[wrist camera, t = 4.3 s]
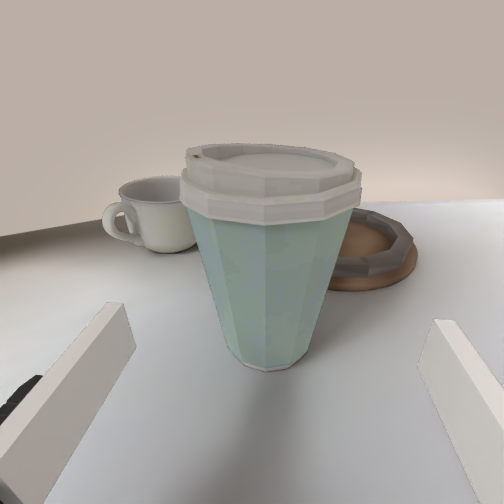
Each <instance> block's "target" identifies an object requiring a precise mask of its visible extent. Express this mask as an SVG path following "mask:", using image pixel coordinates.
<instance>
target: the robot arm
mask: <svg viewBox="0 0 504 504" xmlns="http://www.w3.org/2000/svg"><path fill="white" fill-rule="evenodd" d="M135 349H136V344H135V341H134V337H133V334H132V331H131V327H130V324H129V321H128V318H127V314H126V311H125V308H124V304H123V303H113V302H107V303H106V304H105V305H104V306H103V308H102V309H101V310H100V311H99V312H98V313H97V315H96V316H95V317H94V318H93V319H92V320H91V321H90V323H89V324H88V325H87V326H86V327H85V328H84V330H83V331H82V332H81V333H80V334H79V335H78V337H77V338H76V339H75V340H74V341H73V342H72V343H71V345H70V346H69V347H68V348H67V349H66V350H65V352H64V353H63V354H62V355H61V356H60V357H59V358H58V360H57V361H56V362H55V363H54V364H53V365H52V367H51V368H50V369H49V370H48V371H47V372H46V374H45V375H44V376H42V375H35V376H34V377H32V378H31V379H30V380H28V381H27V382H26V383H24V384H23V385H21V386H20V387H19V388H18V389H17V390H16V391H15V392H14V394H13V395H12V396H11V397H10V398H9V399H8V400H7V403H6V404H3V406H2V407H1V408H0V504H43V503H44V501H45V499H46V498H47V496H48V494H49V492H50V491H51V489H52V487H53V486H54V484H55V482H56V481H57V479H58V477H59V476H60V474H61V472H62V471H63V469H64V467H65V466H66V464H67V462H68V461H69V459H70V457H71V456H72V454H73V452H74V451H75V449H76V447H77V446H78V444H79V442H80V441H81V439H82V437H83V436H84V434H85V432H86V431H87V429H88V427H89V426H90V424H91V422H92V421H93V419H94V417H95V416H96V414H97V412H98V411H99V409H100V407H101V406H102V404H103V402H104V401H105V399H106V397H107V396H108V394H109V392H110V391H111V389H112V387H113V386H114V384H115V382H116V381H117V379H118V377H119V376H120V374H121V372H122V371H123V369H124V367H125V366H126V364H127V362H128V361H129V359H130V357H131V356H132V354H133V352H134V351H135ZM417 368H418V370H419V372H420V374H421V376H422V379H423V381H424V383H425V385H426V387H427V390H428V392H429V394H430V396H431V398H432V400H433V403H434V405H435V407H436V409H437V411H438V414H439V416H440V418H441V420H442V422H443V424H444V427H445V429H446V431H447V433H448V435H449V438H450V440H451V442H452V444H453V446H454V449H455V451H456V453H457V455H458V457H459V459H460V462H461V464H462V466H463V468H464V470H465V473H466V475H467V477H468V479H469V481H470V483H471V486H472V488H473V490H474V492H475V494H476V497H477V499H478V501H479V503H480V504H504V389H503V388H502V386H501V385H500V384H499V382H498V381H497V379H496V378H495V377H494V375H493V374H492V372H491V371H490V370H489V368H488V367H487V365H486V364H485V363H484V361H483V360H482V358H481V357H480V356H479V354H478V353H477V351H476V350H475V349H474V347H473V346H472V344H471V343H470V342H469V340H468V339H467V337H466V336H465V335H464V333H463V332H462V330H461V329H460V327H459V326H458V325H457V323H456V322H455V320H442V319H434V320H433V322H432V325H431V328H430V331H429V334H428V337H427V340H426V343H425V346H424V348H423V351H422V354H421V357H420V360H419V363H418V366H417Z"/></svg>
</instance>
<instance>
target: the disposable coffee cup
mask: <svg viewBox="0 0 504 504" xmlns="http://www.w3.org/2000/svg"><path fill="white" fill-rule="evenodd" d="M185 159H186V166H187V168H185V169H183V171H182V172H181V176H180V196H179V199H180V201H181V202H182V203H183V205H184V206H186V207H187V211H188V214H189V217H190V221H191V224H192V228H193V231H194V234H195V238H196V241H197V245H198V248H199V251H200V255H201V258H202V262H203V265H204V268H205V272H206V275H207V278H208V282H209V285H210V289H211V292H212V295H213V299H214V302H215V306H216V309H217V312H218V316H219V319H220V323H221V326H222V329H223V333H224V336H225V340H226V343H227V346H228V348H229V349H230V350H231V351H232V353H233V354H234V355H235V356H236V357H237V358H238V359H239V360H240V361H241V362H242V363H243V364H244V365H245V366H247V367H251V368H254V369H258V370H261V371H264V372H269V371H275V370H281V369H287V368H289V367H290V366H291V365H293V364H294V363H295V362H296V361H298V360H299V359H300V358H302V357H303V354H305V353H306V352H307V350H308V347H309V344H310V341H311V338H312V335H313V332H314V328H315V325H316V322H317V319H318V316H319V313H320V310H321V307H322V304H323V301H324V298H325V294H326V291H327V288H328V285H329V282H330V279H331V276H332V273H333V270H334V267H335V263H336V260H337V257H338V254H339V251H340V248H341V245H342V242H343V239H344V236H345V233H346V229H347V226H348V223H349V220H350V217H351V214H352V211H353V208H354V207H356V206H358V205H360V199H361V192H362V188H361V177H362V173H361V172H360V170H359V169H357V168H355V167H354V162H353V161H351V160H349V159H347V158H345V157H343V156H340V155H338V154H336V153H332V152H327V151H322V150H316V149H311V148H306V147H295V146H284V145H273V144H240V143H239V144H238V143H236V144H212V145H211V144H210V145H204V146H198V147H193V148H188V149H187V150H186V157H185Z"/></svg>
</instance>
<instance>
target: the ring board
mask: <svg viewBox="0 0 504 504" xmlns="http://www.w3.org/2000/svg"><path fill="white" fill-rule="evenodd" d="M416 259H417V249H416V246H415V245H414V243H413V237H412V236H411V235H410V234H409V233H408V231H407V230H406V229H405V228H404V227H403V226H402V224H401V223H400V222H397V221H395V220H393V219H390V218H388V217H386V216H383V215H381V214H379V213H376V212H374V211H369V210H363V209H358V208H353V211H352V214H351V217H350V220H349V223H348V226H347V229H346V233H345V236H344V239H343V242H342V245H341V248H340V251H339V254H338V257H337V260H336V263H335V267H334V270H333V273H332V276H331V279H330V282H329V285H328V288H327V289H329V290H339V291H363V290H372V289H378V288H383V287H386V286H390V285H393V284H395V283H397V282H400V281H401V280H403V279H405V278H406V277H407V276H408V275H409V274H410V273H411V272H412V270H413V269H414V266H415V263H416Z"/></svg>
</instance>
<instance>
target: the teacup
mask: <svg viewBox="0 0 504 504" xmlns="http://www.w3.org/2000/svg"><path fill="white" fill-rule="evenodd" d="M119 195H120V197H121V200H122V203H121V202H117V203H113V204H111V205H109V206H108V207H107V208H106V209H105V211H104V213H103V216H102V224H103V227H104V229H105V230H106V232H107V233H108V234H109V235H111V236H112V237H114V238H116V239H119V240H123V241H128V242H132V243H133V244H134V245H136V246H144V247H147V248H148V249H150V250H152V251H155V252H160V253H173V252H179V251H183V250H185V249H188V248H190V247H191V246H193V245H194V244H195V243H196V242H197V241H196V238H195V234H194V231H193V228H192V224H191V221H190V217H189V214H188V211H187V207H186V206H184V205H183V203H182V202H181V201H180V199H179V196H180V176H158V177H150V178H143V179H139V180H134V181H132V182H129V183H127V184H125V185H123V186H122V187H121V188H120V189H119ZM119 212H124V215H125V219H126V223H127V227H128V230H129V232H130V233H123V232H120V231H119V230H117V228H116V227H115V223H114V222H115V217H116V215H117V214H118V213H119Z"/></svg>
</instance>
